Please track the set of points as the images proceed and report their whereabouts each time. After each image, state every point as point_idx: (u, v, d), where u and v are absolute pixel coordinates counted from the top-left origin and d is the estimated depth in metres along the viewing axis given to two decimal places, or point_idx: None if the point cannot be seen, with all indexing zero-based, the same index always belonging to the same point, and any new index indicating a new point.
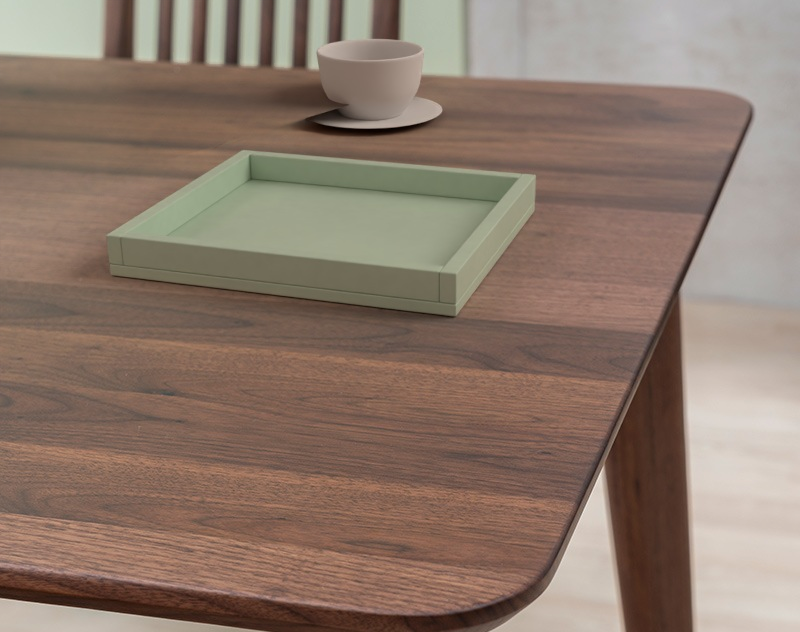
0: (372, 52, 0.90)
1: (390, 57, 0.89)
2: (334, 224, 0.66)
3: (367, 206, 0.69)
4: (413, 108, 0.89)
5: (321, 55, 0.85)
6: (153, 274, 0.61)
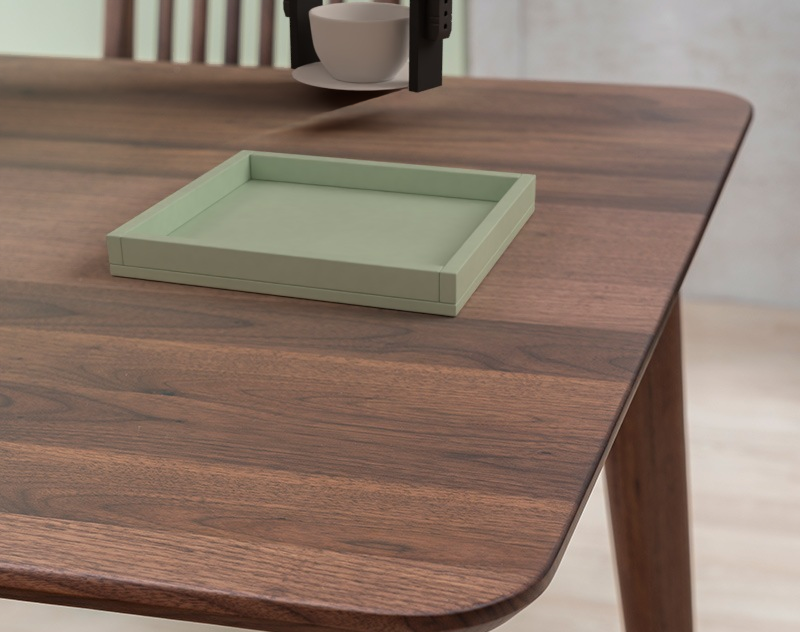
0: (365, 15, 0.88)
1: None
2: (334, 224, 0.66)
3: (367, 206, 0.69)
4: (406, 72, 0.88)
5: (313, 15, 0.84)
6: (153, 274, 0.61)
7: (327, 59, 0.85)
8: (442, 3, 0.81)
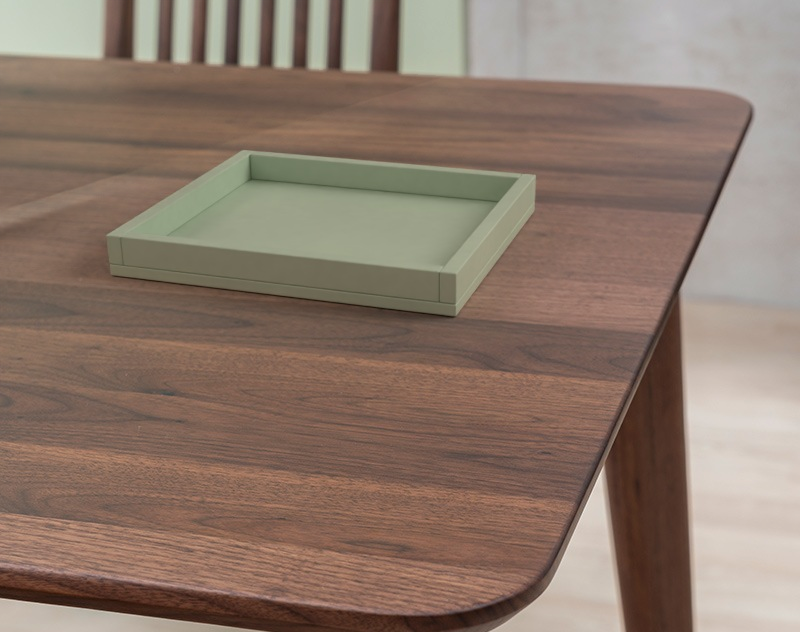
0: None
1: None
2: (334, 224, 0.66)
3: (367, 206, 0.69)
4: None
5: None
6: (153, 274, 0.61)
7: None
8: None
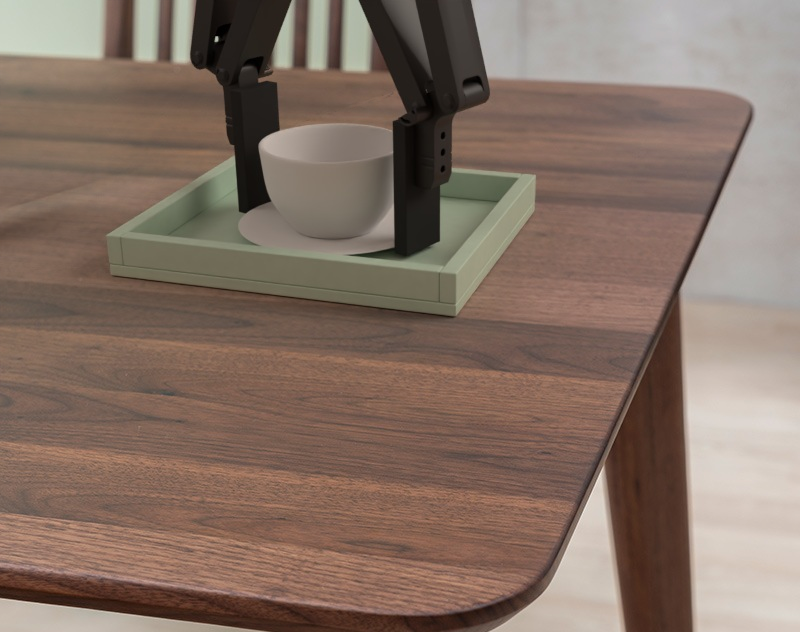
0: (337, 141, 0.66)
1: (361, 148, 0.66)
2: None
3: None
4: (392, 218, 0.66)
5: (264, 152, 0.62)
6: (153, 274, 0.61)
7: (284, 209, 0.62)
8: (438, 139, 0.58)
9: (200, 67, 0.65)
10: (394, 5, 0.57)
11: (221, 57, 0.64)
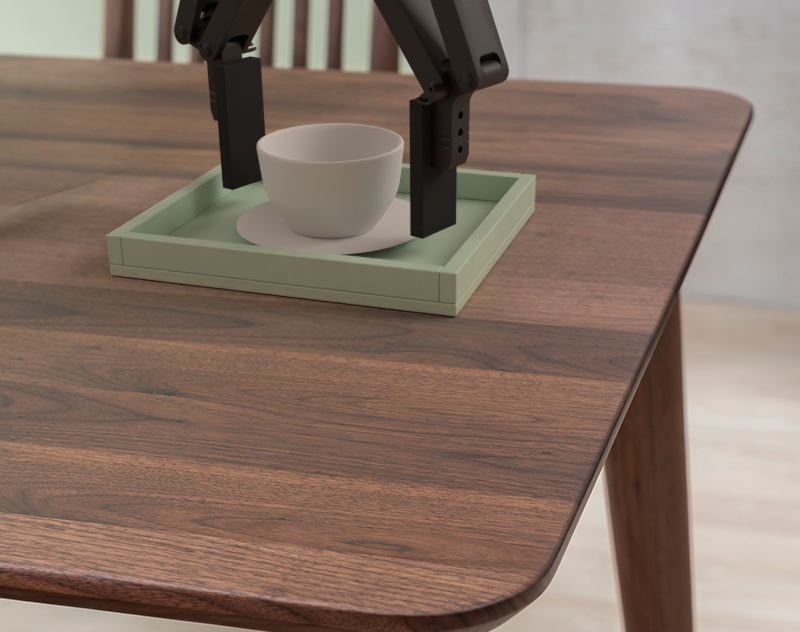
0: (335, 141, 0.66)
1: (359, 148, 0.66)
2: None
3: None
4: (390, 218, 0.66)
5: (262, 152, 0.62)
6: (153, 274, 0.61)
7: (282, 209, 0.62)
8: (455, 119, 0.57)
9: (183, 42, 0.66)
10: None
11: (206, 32, 0.64)
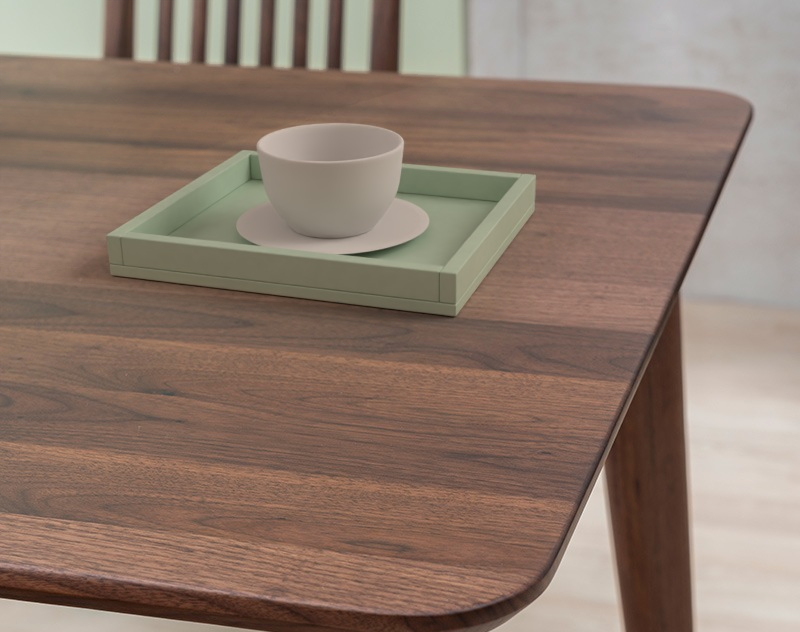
0: (335, 141, 0.66)
1: (359, 148, 0.66)
2: None
3: None
4: (390, 217, 0.66)
5: (262, 152, 0.62)
6: (153, 274, 0.61)
7: (282, 208, 0.62)
8: None
9: None
10: None
11: None
